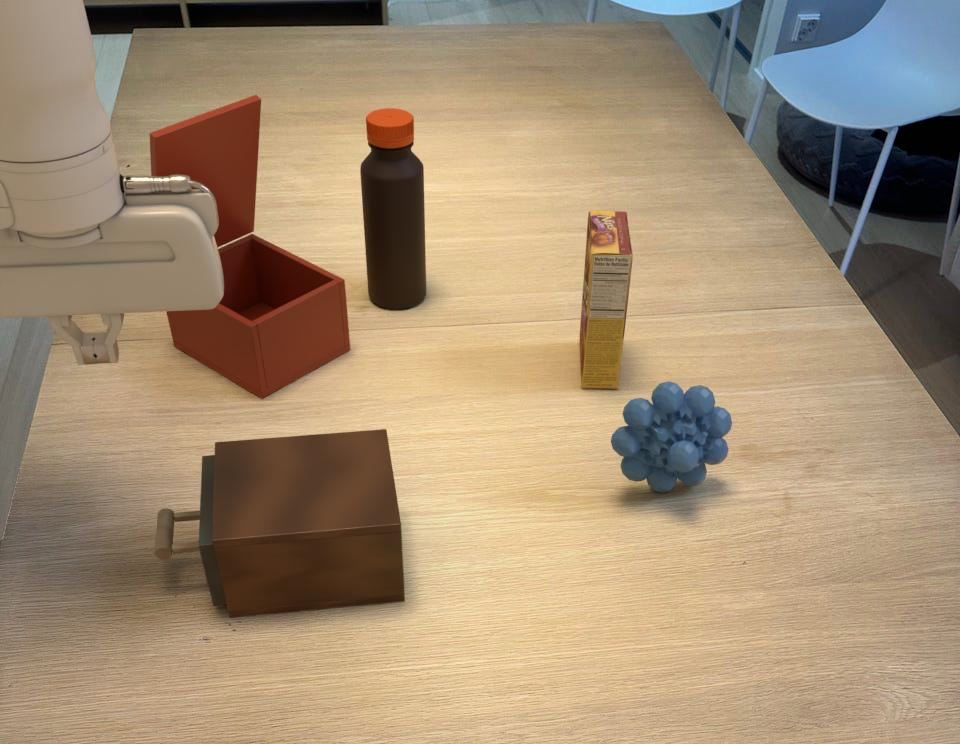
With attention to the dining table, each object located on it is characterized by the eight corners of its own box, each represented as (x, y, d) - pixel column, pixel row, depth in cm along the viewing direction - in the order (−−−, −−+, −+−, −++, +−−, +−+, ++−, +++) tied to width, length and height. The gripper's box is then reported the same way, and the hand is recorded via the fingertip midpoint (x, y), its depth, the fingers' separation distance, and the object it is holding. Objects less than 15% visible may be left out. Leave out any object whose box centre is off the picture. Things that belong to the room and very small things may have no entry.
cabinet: (229, 617, 88) (212, 540, 81) (230, 518, 96) (214, 441, 90) (405, 601, 89) (401, 524, 83) (390, 505, 98) (386, 428, 91)
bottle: (372, 313, 120) (361, 132, 106) (364, 283, 125) (352, 106, 110) (431, 307, 121) (428, 128, 107) (421, 278, 126) (416, 102, 111)
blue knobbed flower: (618, 528, 96) (635, 419, 87) (595, 482, 100) (609, 373, 92) (737, 510, 98) (765, 401, 89) (710, 466, 102) (734, 358, 94)
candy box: (575, 343, 117) (588, 208, 106) (614, 344, 117) (631, 209, 106) (577, 389, 111) (590, 251, 100) (618, 391, 111) (636, 253, 100)
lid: (261, 98, 102) (256, 94, 102) (155, 137, 96) (149, 132, 96) (254, 231, 115) (249, 227, 115) (159, 273, 109) (154, 269, 109)
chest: (350, 349, 115) (344, 279, 109) (262, 399, 109) (250, 327, 103) (262, 302, 122) (252, 233, 116) (173, 346, 115) (158, 275, 109)
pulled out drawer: (161, 611, 87) (143, 550, 82) (167, 520, 94) (151, 459, 89) (376, 591, 89) (371, 530, 84) (365, 504, 96) (360, 443, 91)
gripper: (213, 154, 73) (238, 331, 84) (-100, 161, 71) (-34, 343, 81) (211, 195, 69) (238, 376, 79) (-121, 205, 66) (-49, 390, 77)
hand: (99, 359), depth 80 cm, fingers closed
